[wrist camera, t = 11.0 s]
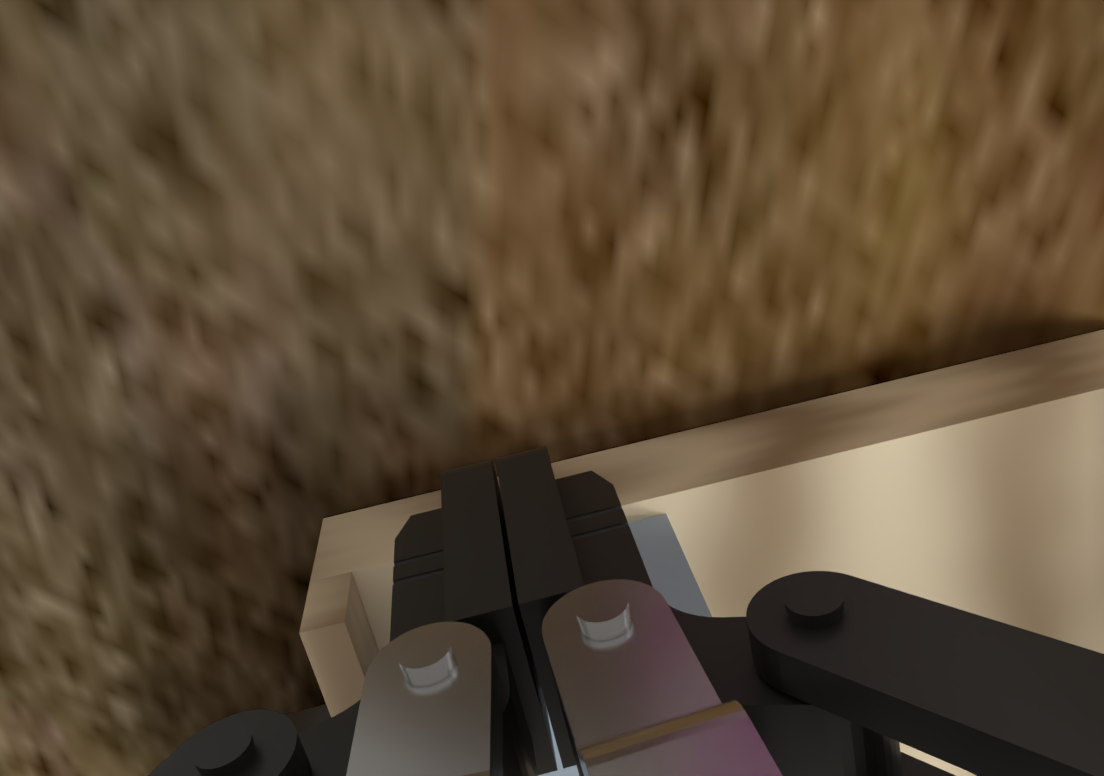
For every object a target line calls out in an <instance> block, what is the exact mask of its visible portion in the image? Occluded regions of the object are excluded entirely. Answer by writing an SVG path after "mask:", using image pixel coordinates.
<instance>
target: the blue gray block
mask: <svg viewBox="0 0 1104 776" xmlns="http://www.w3.org/2000/svg"><path fill="white" fill-rule="evenodd" d="M628 525H629V527H630V529H631V532H632V534H633V537H634V539H635V542H636V545H637V547H638V550H639V552H640V555H641V558H642V560H643V563H644V565H645V568H646V571H647V573H648V576H649V578H650V581H651V583H652V586H653V588H655V589H656V590H657V591H658V592H660V593H661V594H662V596H663V597H664V598H665V600H666V602H667V603H668V605H669V606H671V607H673V608H675V609H677V610H680V611H682V612H685V613H689V614H693V615H697V616H705V617H712V615H711V613H710V611H709V609H708V606H707V604H706V602H705V600H704V597H703V595H702V593H701V591H700V588H699V586H698V584H697V582H696V579H695V577H694V575H693V573H692V570H691V568H690V566H689V564H688V561H687V559H686V557H685V555H684V552H683V550H682V548H681V546H680V544H679V541H678V539H677V537H676V535H675V532H674V530H673V528H672V526H671V523H670V521H669V519H668V517H667V514H663V515H659V516H655V517H651V518H647V519H643V520H639V521H634V522H630V523H628ZM547 712H548V710H547ZM548 717H549V714H548ZM549 723H550V729H551V735H552V740H553V746H554V752H555V758H556V763H557V769H558V770H557V771H553V772H549V773H545V774H542V775H538V776H579V773H578V769H577V765H575V766H571V767H567V768H564V769H563V765H562V762H561V758H560V754H559V751H558V747H557V743H556V740H555V736H554V732H553V729H552V725H551V721H550V718H549Z"/></svg>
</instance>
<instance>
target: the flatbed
mask: <svg viewBox="0 0 1104 776" xmlns="http://www.w3.org/2000/svg"><path fill="white" fill-rule="evenodd" d="M551 466H552V469H553V473H554V477H555V479H559V478H563V477H567V476H571V475H575V474H579V473H583V472H587V471H591V470H592V471H593V472H595V473H596V474H598V475H599V476H601V477H603V478H604V479H606V480H607V481H609V482H610V483H612V484H613V485H614V488H615V490H616V493H617V495H618V498H619V501H620V503H621V507H622V509H623V511H624V514H625V516H626V519H627V521H628V523H630V522H634V521H639V520H643V519H647V518H651V517H655V516H659V515H663V514H667V517H668V519H669V521H670V523H671V526H672V528H673V530H674V532H675V535H676V537H677V539H678V541H679V544H680V546H681V548H682V550H683V552H684V555H685V557H686V559H687V561H688V564H689V566H690V568H691V570H692V573H693V575H694V577H695V579H696V582H697V584H698V586H699V588H700V591H701V593H702V595H703V597H704V600H705V602H706V604H707V606H708V609H709V611H710V613H711V615H712V617H746V611H747V608H748V604H749V603H750V601H751V599H752V598H753V596H754V595H755V594H756V593H757V592H758V591H759V590H760V589H762V588H763V587H764V586H765V585H767V584H769V583H771V582H772V581H774V580H777V579H779V578H781V577H784V576H787V575H791V574H795V573H800V572H808V571H830V572H838V573H843V574H847V575H851V576H854V577H857V578H860V579H864V580H867V581H870V582H873V583H877V584H880V585H883V586H886V587H889V588H893V589H896V590H899V591H902V592H906V593H909V594H912V595H915V596H918V597H922V598H925V599H928V600H931V601H935V602H938V603H941V604H944V605H948V606H951V607H954V608H957V609H960V610H964V611H967V612H970V613H973V614H977V615H980V616H983V617H986V618H990V619H993V620H996V621H999V622H1002V623H1006V624H1009V625H1012V626H1015V627H1019V628H1022V629H1025V630H1028V631H1031V632H1035V633H1038V634H1041V635H1044V636H1048V637H1051V638H1054V639H1057V640H1061V641H1064V642H1067V643H1070V644H1073V645H1077V646H1080V647H1083V648H1086V649H1090V650H1093V651H1096V652H1099V653H1102V654H1104V329H1103V330H1099V331H1095V332H1091V333H1087V334H1082V335H1078V336H1074V337H1070V338H1066V339H1062V340H1058V341H1054V342H1049V343H1045V344H1041V345H1037V346H1033V347H1029V348H1025V349H1021V350H1016V351H1012V352H1008V353H1004V354H1000V355H996V356H992V357H988V358H983V359H979V360H975V361H971V362H967V363H963V364H959V365H955V366H950V367H946V368H942V369H938V370H934V371H930V372H926V373H922V374H917V375H913V376H909V377H905V378H901V379H897V380H893V381H888V382H884V383H880V384H876V385H872V386H868V387H864V388H860V389H855V390H851V391H847V392H843V393H839V394H835V395H831V396H827V397H822V398H818V399H814V400H810V401H806V402H802V403H798V404H794V405H789V406H785V407H781V408H777V409H773V410H769V411H765V412H761V413H756V414H752V415H748V416H744V417H740V418H736V419H732V420H728V421H723V422H719V423H715V424H711V425H707V426H703V427H699V428H695V429H690V430H686V431H682V432H678V433H674V434H670V435H666V436H661V437H657V438H653V439H649V440H645V441H641V442H637V443H633V444H628V445H624V446H620V447H616V448H612V449H608V450H604V451H600V452H595V453H591V454H587V455H583V456H579V457H575V458H571V459H567V460H562V461H558V462H554V463H551ZM497 479H498V482H499V477H498V476H497ZM499 486H500V483H499ZM439 508H442V506H441V490H439V491H434V492H430V493H426V494H422V495H418V496H414V497H410V498H406V499H401V500H397V501H393V502H389V503H385V504H381V505H377V506H373V507H368V508H364V509H360V510H356V511H352V512H348V513H344V514H340V515H335V516H331V517H327V518H323V522H322V527H321V532H320V536H319V541H318V546H317V551H316V555H315V560H314V565H313V570H312V574H311V579H310V584H309V589H308V593H307V598H306V603H305V608H304V612H303V617H302V622H301V627H300V631H299V634H300V637H301V640H302V642H303V645H304V647H305V650H306V653H307V655H308V658H309V661H310V663H311V666H312V668H313V671H314V674H315V676H316V679H317V681H318V684H319V687H320V689H321V692H322V695H323V697H324V700H325V702H326V704H325V705H321V706H317V707H312V708H308V709H304V710H300V711H296V712H292V713H288V714H284V715H285V716H287V717H288V718H289V719H290V720H291V721H292V723H293V724H294V725H295V728H296V730H297V733H298V734H299V733H301V732H303V731H305V730H307V729H309V728H311V727H313V726H315V725H317V724H319V723H321V722H323V721H326V720H328V719H330V718H332V717H334V716H335V715H337V714H339V713H341V712H343V711H345V710H346V709H348V708H349V707H351V706H352V705H354V704H355V703H356V702H358V701H359V700H360V699H361V695H362V690H363V685H364V680H365V675H366V672H367V669H368V667H369V665H370V663H371V661H372V660H373V658H374V657H375V656H376V655H377V653H378V652H379V651H380V650H381V649H382V648H383V647H385V646H386V645H387V644H388V643H390V626H391V606H392V585H394V584H393V566H395V565H394V545H395V538H396V537H397V535H398V534H399V532H400V531H401V529H402V528H403V526H404V525H405V523H406V522H407V520H408V519H409V517H410V516H411V515H415V514H419V513H423V512H427V511H431V510H435V509H439ZM900 752H903V753H905V754H907V755H910V756H912V757H914V758H917V759H919V760H921V761H924V762H926V763H928V764H931V765H933V766H935V767H937V768H940V769H942V770H944V771H947V772H949V773H951V774H954V775H956V776H976V775H974V774H972V773H970V772H968V771H966V770H964V769H962V768H959V767H957V766H955V765H952V764H950V763H947V762H945V761H943V760H940V759H938V758H936V757H933V756H931V755H929V754H926V753H924V752H922V751H919V750H917V749H915V748H912V747H910V746H907V745H905V744H903V743H900Z"/></svg>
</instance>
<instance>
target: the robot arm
mask: <svg viewBox="0 0 1104 776" xmlns="http://www.w3.org/2000/svg"><path fill="white" fill-rule="evenodd" d="M496 464H497V470H498V477H499V482H498V479H497V475H496V471H495V468H494V465H493V462H492V460H488V461H483V462H479V463H475V464H471V465H467V466H463V467H459V468H455V469H451V470H447V471H443V472H441V473H440V479H441V506H442V508H439V509H435V510H431V511H427V512H423V513H419V514H415V515H411V516H410V517H409V519H408V520H407V522H406V523H405V525H404V526H403V528H402V529H401V531H400V532H399V534H398V535H397V537H396V538H395V545H394V565H395V566H393V584H394V585H392V606H391V626H390V643H388V644H387V645H386V646H385V647H383V648H382V649H381V650H380V651H379V652H378V653H377V655H376V656H375V657H374V658H373V660H372V661H371V663H370V665H369V667H368V669H367V672H366V675H365V680H364V685H363V690H362V695H361V699H360V700H359V701H358V702H356V703H355V704H354V705H352V706H351V707H349V708H348V709H346V710H345V711H343V712H341V713H339V714H337V715H335V716H334V717H332V718H330V719H328V720H326V721H323V722H321V723H319V724H317V725H315V726H313V727H311V728H309V729H307V730H305V731H303V732H301V733H299V734H298V733H297V730H296V728H295V725H294V724H293V723H292V721H291V720H290V719H289V718H288V717H287V716H285V715H284V714H281V713H279V712H276V711H271V710H251V711H245V712H241V713H237V714H234V715H231V716H228V717H225V718H223V719H220V720H218V721H216V722H214V723H212V724H210V725H209V726H207V727H205V728H203V729H202V730H200V731H199V732H197V733H196V734H194V735H193V736H192V737H191V738H189V739H188V740H187V741H186V742H185V743H183V744H182V745H181V746H180V747H179V748H178V749H177V750H176V751H175V752H174V753H172V754H171V755H170V756H169V757H168V758H167V759H166V760H165V761H164V762H163V763H161V764H160V765H159V766H158V767H157V768H156V769H155V770H154V771H153V772H151V773H150V774H149V775H148V776H538V775H542V774H545V773H549V772H553V771H557V770H558V769H557V763H556V758H555V752H554V746H553V740H552V735H551V729H550V723H549V718H550V721H551V725H552V729H553V732H554V736H555V740H556V743H557V747H558V751H559V754H560V758H561V762H562V765H563V769H564V768H567V767H571V766H575V765H577V769H578V773H579V776H956V775H954V774H951V773H949V772H947V771H944V770H942V769H940V768H937V767H935V766H933V765H931V764H928V763H926V762H924V761H921V760H919V759H917V758H914V757H912V756H910V755H907V754H905V753H903V752H900V743H903V744H905V745H907V746H910V747H912V748H915V749H917V750H919V751H922V752H924V753H926V754H929V755H931V756H933V757H936V758H938V759H940V760H943V761H945V762H947V763H950V764H952V765H955V766H957V767H959V768H962V769H964V770H966V771H968V772H970V773H972V774H974V775H976V776H1104V654H1102V653H1099V652H1096V651H1093V650H1090V649H1086V648H1083V647H1080V646H1077V645H1073V644H1070V643H1067V642H1064V641H1061V640H1057V639H1054V638H1051V637H1048V636H1044V635H1041V634H1038V633H1035V632H1031V631H1028V630H1025V629H1022V628H1019V627H1015V626H1012V625H1009V624H1006V623H1002V622H999V621H996V620H993V619H990V618H986V617H983V616H980V615H977V614H973V613H970V612H967V611H964V610H960V609H957V608H954V607H951V606H948V605H944V604H941V603H938V602H935V601H931V600H928V599H925V598H922V597H918V596H915V595H912V594H909V593H906V592H902V591H899V590H896V589H893V588H889V587H886V586H883V585H880V584H877V583H873V582H870V581H867V580H864V579H860V578H857V577H854V576H851V575H847V574H843V573H838V572H830V571H808V572H800V573H795V574H791V575H787V576H784V577H781V578H779V579H777V580H774V581H772V582H771V583H769V584H767V585H765V586H764V587H763V588H762V589H760V590H759V591H758V592H757V593H756V594H755V595H754V596H753V598H752V599H751V601H750V603H749V604H748V608H747V611H746V617H705V616H697V615H693V614H689V613H685V612H682V611H680V610H677V609H675V608H673V607H671V606H669V605H668V603H667V602H666V600H665V598H664V597H663V596H662V594H661V593H660V592H658V591H657V590H656V589H655V588H653V586H652V583H651V581H650V578H649V576H648V573H647V571H646V568H645V565H644V563H643V560H642V558H641V555H640V552H639V550H638V547H637V545H636V542H635V539H634V537H633V534H632V532H631V529H630V527H629V525H628V521H627V519H626V516H625V514H624V511H623V509H622V507H621V503H620V501H619V498H618V495H617V493H616V490H615V488H614V485H613V484H612V483H610V482H609V481H607V480H606V479H604V478H603V477H601V476H599V475H598V474H596V473H595V472H593V471H592V470H591V471H587V472H583V473H579V474H575V475H571V476H567V477H563V478H559V479H555V477H554V473H553V469H552V466H551V462H550V458H549V455H548V451H547V447H546V446H543V447H539V448H535V449H531V450H527V451H523V452H519V453H515V454H511V455H507V456H503V457H499V458H496ZM499 483H500V486H499ZM547 710H548V712H547ZM548 714H549V717H548Z"/></svg>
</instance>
